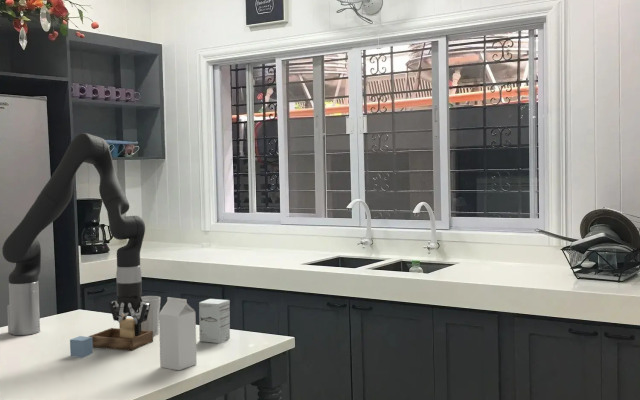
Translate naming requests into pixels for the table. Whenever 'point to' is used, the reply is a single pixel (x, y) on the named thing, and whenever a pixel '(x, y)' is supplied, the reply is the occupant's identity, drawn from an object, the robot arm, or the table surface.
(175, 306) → the milk carton
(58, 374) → the table surface
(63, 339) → the table surface
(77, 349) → the slate block
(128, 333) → the oak block
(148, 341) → the tray
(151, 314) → the cup
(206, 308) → the supplement box
